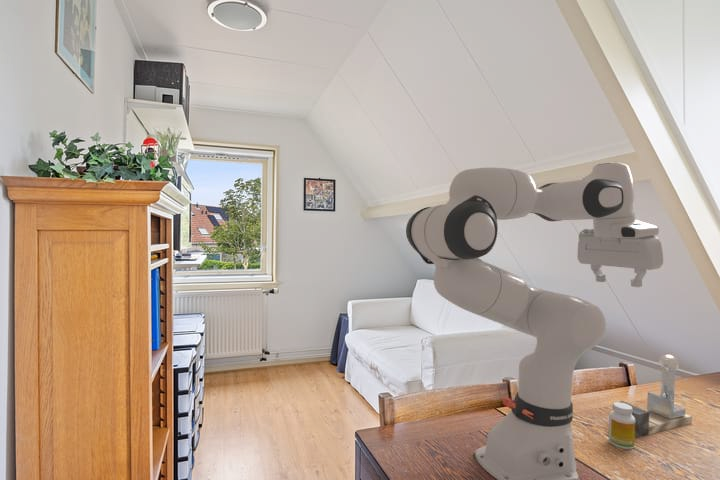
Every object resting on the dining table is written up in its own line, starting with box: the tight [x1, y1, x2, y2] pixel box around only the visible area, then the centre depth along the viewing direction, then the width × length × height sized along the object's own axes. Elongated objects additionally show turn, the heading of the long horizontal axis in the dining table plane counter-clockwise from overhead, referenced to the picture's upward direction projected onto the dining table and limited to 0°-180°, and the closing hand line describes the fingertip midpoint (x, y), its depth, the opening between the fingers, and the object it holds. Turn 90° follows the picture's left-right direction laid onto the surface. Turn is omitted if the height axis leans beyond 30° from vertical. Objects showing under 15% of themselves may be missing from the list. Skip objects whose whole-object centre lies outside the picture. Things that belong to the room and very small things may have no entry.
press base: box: [612, 400, 693, 438], centre depth 109 cm, size 22×7×6 cm, turn 111°
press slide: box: [646, 353, 687, 419], centre depth 111 cm, size 7×6×16 cm
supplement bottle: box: [608, 401, 636, 450], centre depth 99 cm, size 5×5×10 cm
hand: (618, 284), depth 99 cm, fingers open, 8 cm apart
